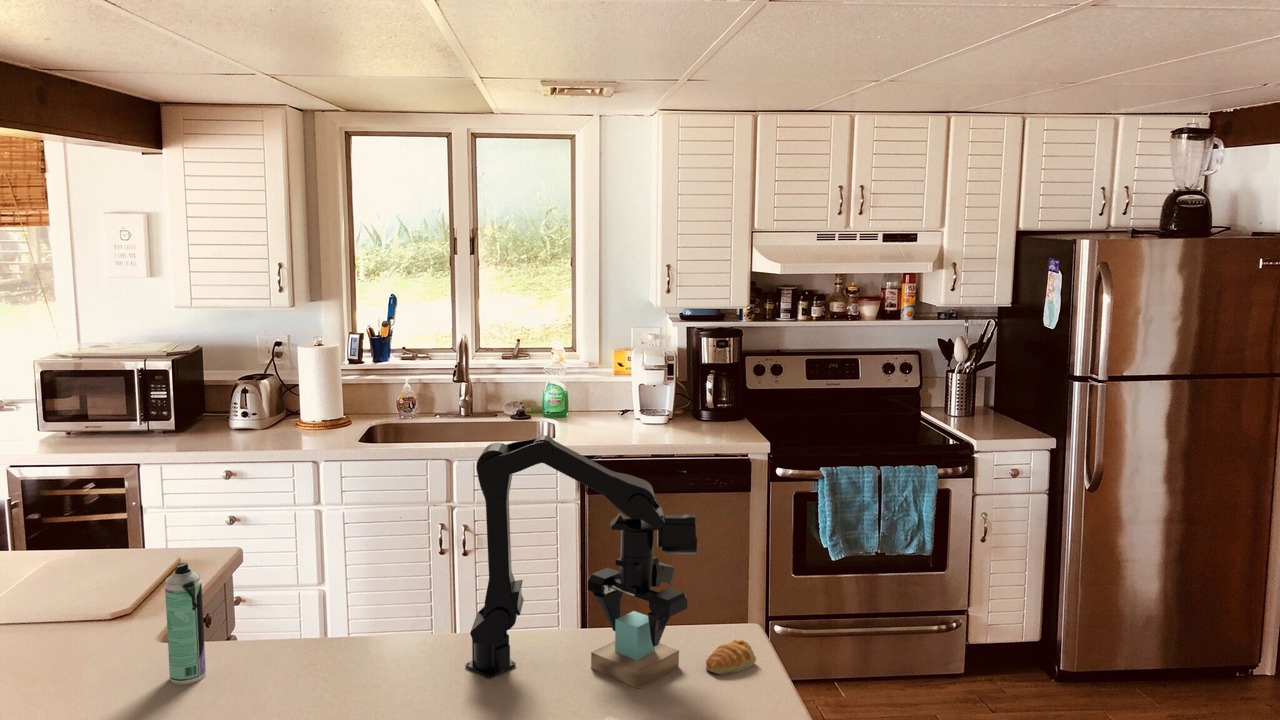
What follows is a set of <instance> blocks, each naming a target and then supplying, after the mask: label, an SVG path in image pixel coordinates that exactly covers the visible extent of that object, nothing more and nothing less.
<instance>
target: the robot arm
mask: <svg viewBox="0 0 1280 720" xmlns="http://www.w3.org/2000/svg"><path fill="white" fill-rule="evenodd" d="M539 464H545V465H547V467H550V468H552V469H554V470H555V471H557V472H560V473H561V474H563V475H565V476H566V477H569V478H571V479H573V480H574V481H577V482H579V483H581V484H582V485H584V486H586V487H588V488H590V489H592V490H593V491H596V492H597V493H600V494H601V495H602V496H603V497H604V498H605V499H607V500H608V501H609V502H610V503H611V504H612V505H613V506H614V507H615V508H617V509H618V510H619V511H620V512H618V514H617V515H616V516H615V517H614V518H613V519H611V521H610V530H612V531H620V557H619V558H616V559H615V565H616V566H619V568H620V569H619V570H620V571H619V570H615V569H613V568H610V567H605V568H603V569H601V570H599V571H596V572H593V573H590V575H589V577H588V579H587V591H590V592H592V596H593V597H595V599H596V600H597V602H598V604H599V606H600V607H601V610H603V613H604V614H605V618H607V621H608V623H609V625H610V627H611V629H612V631H613V632H615V619H618V618H620V617H621V599H622V597H623V595H624V594H627V595H629V596H632V597H635V598H637V599H641V600H644V601H647V602H648V609H649V610H650V612H648V613H647V616H648V619H649V627H650V634H651V641H652V645H653V646H654V647H655V646H657V645H658V644H659V643H661V640H662V639H661V638H662V637H663V633H664V631H665V629H666V626H667V624H668V623H669V620H670V619H671V617H672V616H674V615H676V614H678V613H681V612H683V611H685V610H687V609H688V596H687V595H686V594H685V592H682V591H680V590H676V589H673V588H672V587H671V588H670V587H667V588H665V589H662V590H661V591H659V592H658V591H656V590H654V589H653V588H659V587H661V585H662V584H661V583H665V584H667V585H672V583H673V579H674V575H675V571H676V567H675V566H672V565H671V564H670V565H669V564H667V563H663V562H659V561H660V560H659V557H658V556H654V542H655V541H654V540H655V539H654V538H655V537H654V536H655V534H654V533H655V531H656V533H657V534H656V535H657V536H656V537H657V538H656V542H657V543H656V544H657V545H656V546H657V549H659V548H660V549H661V552H663V554H665V555H696V554H697V550H698V549H697V548H698V537H697V531H696V530H697V528H696V515H695V514H694V513H686V514H664V510H663V508H662V507H661V505H659V503H658V502H657V501H656V498H655V492H654V489H653V486H652V484H651V483H650V482H648V481H647V480H645V479H643V478H639V477H637V476H635V475H631V474H627V473H624V472H623V473H622V472H617V471H614V470H611V469H609V468H607V467H604V465H601V464H600V463H597V462H596V461H593V460H592V459H590V458H588V457H586V456H584V455H582V454H580V453H578V452H576V451H575V450H573V449H571V448H569V447H567V446H565V445H563V444H561V443H560V442H558V441H556V440H554V439H553V438H552V437H551V436H550V435H539V436H537V437H534V438H530V439H524V440H518V441H514V442H511V443H506V444H505V443H502V442H493V443H490V444H488V445H487V446H486V447H485V448H484V449H483V451H482V453H481V454H480V456H479V457H478V459H477V462H476V474H477V478H478V483H479V487H480V490H481V492H482V494H483V497H484V501H485V513H486V514H485V516H486V517H485V518H486V537H487V539H486V541H487V543H486V544H487V563H488V567H487V568H488V582H487V583H488V584H487V587H486V588H487V589H486V593H485V598H484V604H483V607H482V608H481V609H479V611H477V614H476V616H475V619H474V620H473V621H474V622H473V624H472V628H471V630H470V632H469V634H470V637H471V641H472V642H471V644H472V645H471V646H472V648H471V649H472V650H471V653H472V654H471V655H472V658H471V659H472V660H470V661H468V662H466V663H465V668H467V669H469V670H471V671H474V672H476V673H478V674H479V675H482V676H483V677H485V678H491V677H493V676H497V675H498V674H500V673H504V672H505V671H507V670H509V669H511V668H514V667H516V664H517V663H516V661H514V660H511V645H510V635H509V634H508V631H509V630H511V629H512V628H513V627H514V626H515V624H516V621H517V618H518V616H520V615H521V613H522V609H523V605H524V601H525V600H524V597H523V594H522V587H523V583H524V582H523V579H518V580H515V577H514V574H513V569H512V550H511V549H512V547H511V546H512V545H511V519H510V499H509V498H510V490H511V485H512V479H513V474H515V473H518V472H519V473H520V472H521V471H524V470H526V469H528V468H531V467H533V466H536V465H539ZM623 514H624V515H625V516H624V515H623ZM626 516H627V517H626Z"/></svg>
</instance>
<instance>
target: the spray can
mask: <svg viewBox="0 0 1280 720" xmlns="http://www.w3.org/2000/svg"><path fill="white" fill-rule="evenodd" d="M201 578H202V576H201V574H200V573H197V572H194V571H193V570H192V569H191V568H190V567H189V563H187V562H181V563H178V564H177V565H176V569H175V571H174V572H172V575H170V576H168V577H167V578H165V585H164V588H165V589H164V591H165V593H164V594H165V608H166V629H167V644H168V645H167V647H168V649H167V650H168V663H169V669H168V670H169V680H170V683H172V684H173V685H178V686H181V685H189V684H193V683H196V682H199V681H201V680H203V679H204V678H205V676H206V673H207V670H206V669H207V667H206V649H205V647H206V646H205V629H204V628H205V626H204V610H203V608H204V607H203V588H202V587H203V586H202V579H201Z"/></svg>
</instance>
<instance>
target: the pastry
mask: <svg viewBox="0 0 1280 720" xmlns="http://www.w3.org/2000/svg"><path fill="white" fill-rule="evenodd" d="M756 662H757V658H756V655H755V652H754V651H753V649H752V647H751V645H750V643H748V642H747V641H745V640H743V639H740V640H738V639H733V640H732V641H730V642H728V643H727V642H726V643H724V644H720V645H719V646H717V648H715V650H714V651H712V653H711V654H709V656H708V658H707V659H706V662H705V664H706V669H705V670H706V671H709V672H711V673H714V674H716V675H717V674H718V675H727V674H733V673H739V672H740V671H743V670H746V669H749V668H750V666H751V667H753V666H754V665H755V664H756ZM748 667H749V668H748Z"/></svg>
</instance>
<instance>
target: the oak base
mask: <svg viewBox="0 0 1280 720" xmlns="http://www.w3.org/2000/svg"><path fill="white" fill-rule="evenodd" d="M590 655H591V657H590V659H591V661H590V666H591V667H590V669H592V670H594V671H597V672H598V673H601V674H604V675H606V676H608V677H611V678H612V679H615V680H617V681H619V682H622V683H625V684H627V685H628V686H629V685H630V686H632V687H634V688H636V689H639V690H640V688H642V687H645V686H646V685H648V684H649V683H651V682H653V681H656V680H657V679H658V678H660V677H662V676H664V675H666V674H668V673H669V672H671V671H673V670H675V669H677V668H678V667H679V665H680V663H679V662H680V659H679V658H680V649H676V648H674V647H671V646H669V645H666V644H663V643H661V642H659V644H658V645H657V646H655V651H654V652H652V653H650V654H648V655H646V656H644V657H642V658H641V659H639V660H634V659H632V658H629V657H627V656H624V655H622V654H619V653H617V652H615V640H614V641H611V642H610V643H607V644H606V645H603V646H601V647H599V648H597V649H595V650H593V651H591V652H590Z"/></svg>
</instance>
